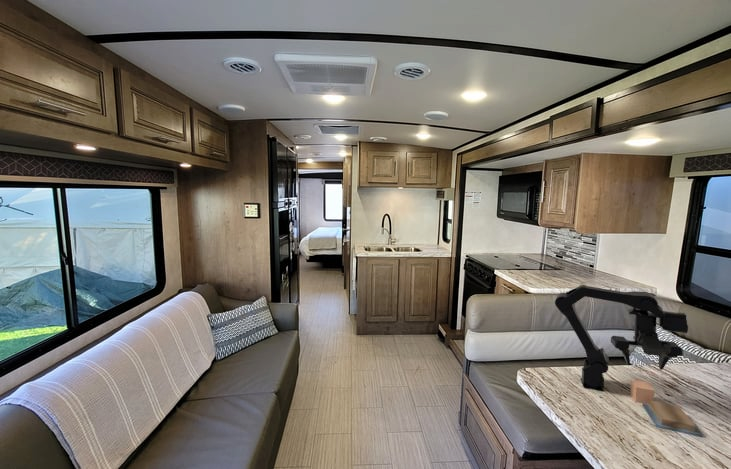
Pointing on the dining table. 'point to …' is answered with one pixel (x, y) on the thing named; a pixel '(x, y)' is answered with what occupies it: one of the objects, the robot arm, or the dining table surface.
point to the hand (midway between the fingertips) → (644, 367)
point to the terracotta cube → (641, 392)
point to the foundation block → (670, 418)
